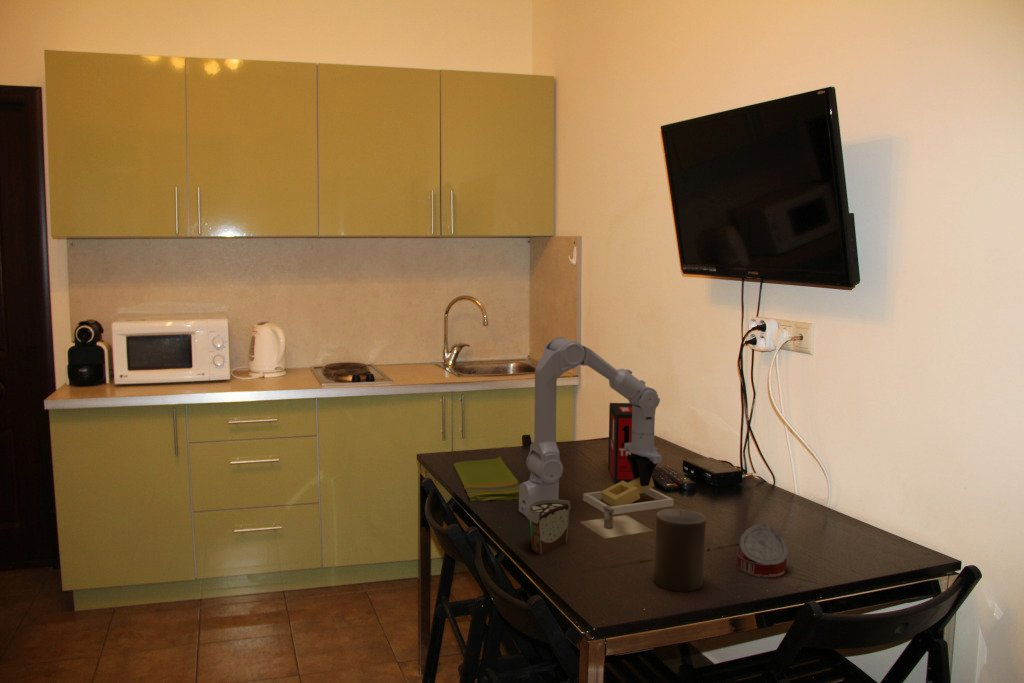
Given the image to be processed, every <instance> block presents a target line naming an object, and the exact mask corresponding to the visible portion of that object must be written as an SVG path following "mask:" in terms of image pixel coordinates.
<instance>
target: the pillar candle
mask: <svg viewBox="0 0 1024 683" xmlns="http://www.w3.org/2000/svg"><path fill="white" fill-rule="evenodd" d="M706 521H707V518H706V516H705V515H704V514H702V513H700V512H698V511H695V510H690V509H684V508H683V509H682V508H681V509H680V508H665V509H663V510H660V511H658V512H657V513H656V525H655V543H654V544H655V547H654V565H653V580H654V583H655V584H656V585H657V586H659V587H661V588H662V589H664V590H665V589H666V590H669V591H675V592H682V593H687V592H693V591H697V590H699V589H701V588H702V587H703V585H704V568H705V567H704V564H705V548H706V547H705V546H706V545H705V544H706V540H705V539H706Z"/></svg>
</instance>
